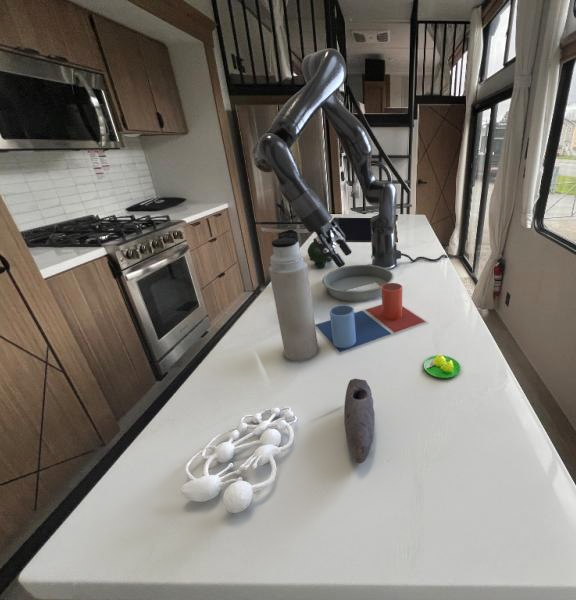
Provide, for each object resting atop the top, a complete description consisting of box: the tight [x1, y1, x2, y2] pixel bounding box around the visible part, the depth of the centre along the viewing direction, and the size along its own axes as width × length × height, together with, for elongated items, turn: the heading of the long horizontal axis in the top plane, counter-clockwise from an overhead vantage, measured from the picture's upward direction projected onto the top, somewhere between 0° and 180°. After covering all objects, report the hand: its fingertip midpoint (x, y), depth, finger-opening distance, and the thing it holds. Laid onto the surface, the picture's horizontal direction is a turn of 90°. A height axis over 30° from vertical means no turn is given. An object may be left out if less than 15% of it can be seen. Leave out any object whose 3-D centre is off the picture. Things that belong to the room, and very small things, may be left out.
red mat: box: [365, 304, 426, 333], centre depth 94 cm, size 10×16×1 cm, turn 32°
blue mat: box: [315, 310, 392, 353], centre depth 88 cm, size 15×16×1 cm
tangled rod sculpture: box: [180, 406, 298, 514], centre depth 52 cm, size 19×14×4 cm
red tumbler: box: [381, 282, 403, 320], centre depth 93 cm, size 6×6×9 cm
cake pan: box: [322, 264, 395, 302], centre depth 112 cm, size 25×25×4 cm
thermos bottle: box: [268, 238, 319, 361], centre depth 73 cm, size 8×8×28 cm
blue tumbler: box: [329, 304, 356, 348], centre depth 80 cm, size 6×6×9 cm
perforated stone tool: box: [343, 378, 375, 465], centre depth 55 cm, size 15×5×7 cm, turn 3°
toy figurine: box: [307, 241, 333, 269], centre depth 136 cm, size 9×19×25 cm
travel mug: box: [277, 229, 301, 253], centre depth 111 cm, size 6×7×20 cm
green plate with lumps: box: [423, 354, 461, 379], centre depth 72 cm, size 8×8×3 cm
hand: (345, 259), depth 92 cm, fingers open, 8 cm apart
